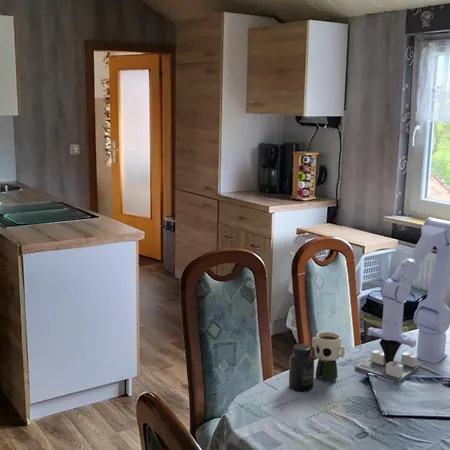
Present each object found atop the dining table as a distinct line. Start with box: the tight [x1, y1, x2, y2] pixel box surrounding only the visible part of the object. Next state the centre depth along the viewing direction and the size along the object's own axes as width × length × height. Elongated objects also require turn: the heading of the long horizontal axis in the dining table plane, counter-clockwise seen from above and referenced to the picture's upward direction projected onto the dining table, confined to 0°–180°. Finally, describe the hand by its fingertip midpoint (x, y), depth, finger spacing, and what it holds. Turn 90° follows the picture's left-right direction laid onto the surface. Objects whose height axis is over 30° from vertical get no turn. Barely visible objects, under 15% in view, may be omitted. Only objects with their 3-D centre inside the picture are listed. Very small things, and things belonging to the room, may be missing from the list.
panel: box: [354, 356, 421, 385], centre depth 184 cm, size 14×14×1 cm
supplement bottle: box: [288, 343, 315, 393], centre depth 171 cm, size 7×7×12 cm
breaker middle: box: [370, 349, 386, 365], centre depth 186 cm, size 3×4×3 cm, turn 49°
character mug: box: [311, 331, 346, 382], centre depth 177 cm, size 11×7×13 cm, turn 46°
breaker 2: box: [400, 351, 419, 367], centre depth 185 cm, size 3×4×3 cm, turn 48°
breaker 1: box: [385, 361, 403, 378], centre depth 177 cm, size 3×4×3 cm, turn 48°
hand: (389, 363), depth 184 cm, fingers closed
